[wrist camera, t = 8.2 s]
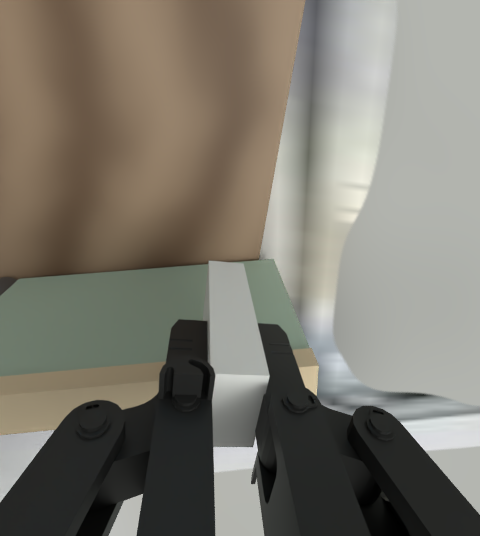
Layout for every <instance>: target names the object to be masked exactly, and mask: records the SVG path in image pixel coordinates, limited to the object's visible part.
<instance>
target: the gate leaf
mask: <svg viewBox="0 0 480 536" xmlns="http://www.w3.org/2000/svg"><path fill="white" fill-rule="evenodd" d="M231 263H243V264H244V267H245V272H246V276H247V280H248V285H249V289H250V293H251V298H252V302H253V306H254V310H255V315H256V319H257V323H264V324H278V325H279V326H280V327H281V328H282V329H283V330H284V331H285V332H286V333H287V336H288V339H289V342H290V346H291V348H292V350H293V355H294V356H295V359H296V362H297V365H298V368H299V371H300V373H301V376H302V379H303V382H304V385H305V387H306V388H307V389H309V390H310V391H311V392H313V393H314V394H315V395H317V382H318V369H319V365H318V363H317V360H316V358H315V355H314V353H313V351H312V348H309V345H308V343H307V340H306V338H305V335H304V333H303V330H302V328H301V326H300V323H299V321H298V318H297V316H296V313H295V311H294V308H293V306H292V303H291V301H290V299H289V296H288V294H287V291H286V289H285V286H284V284H283V281H282V279H281V276H280V274H279V271H278V269H277V267H276V264H275V262H274V259H268V260H255V261H242V262H231ZM207 272H208V264H203V265H190V266H177V267H164V268H152V269H139V270H126V271H113V272H100V273H87V274H74V275H61V276H48V277H35V278H23V279H18V280H17V279H14V278H11V277H2V278H0V435H7V434H17V433H27V432H37V431H47V430H56V428H57V427H58V426H59V425H60V423H61V422H62V421H63V419H64V418H65V417H66V416H67V415H68V414H69V413H70V412H71V411H72V410H73V409H74V408H76V407H78V406H80V405H82V404H84V403H86V402H90V401H94V400H108V401H111V402H113V403H115V404H118V406H119V407H120V408H121V409H122V410H123V409H127V408H131V407H135V406H138V405H141V404H144V403H146V402H148V401H149V400H151V399H152V398H153V397H154V396H156V395H157V393H158V392H159V373H160V371H161V369H162V367H163V365H165V364H166V358H167V351H168V345H169V339H170V332H171V328H172V326H173V325H174V324H175V323H176V322H177V321H178V319H184V320H200V321H203V309H204V300H205V291H206V281H207Z"/></svg>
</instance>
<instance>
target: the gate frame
mask: <svg viewBox="0 0 480 536" xmlns="http://www.w3.org/2000/svg"><path fill="white" fill-rule="evenodd" d="M304 5H305V0H0V278H2V277H11V278H14V279H17V280H18V279H23V278H35V277H48V276H61V275H74V274H87V273H100V272H113V271H126V270H139V269H152V268H164V267H177V266H190V265H203V264H208V263H209V261H220V262H242V261H255V260H259V255H260V249H261V244H262V238H263V232H264V227H265V221H266V216H267V210H268V205H269V199H270V194H271V188H272V183H273V177H274V171H275V166H276V160H277V155H278V149H279V144H280V138H281V133H282V127H283V122H284V116H285V110H286V105H287V99H288V94H289V88H290V83H291V77H292V72H293V66H294V61H295V55H296V49H297V44H298V38H299V33H300V27H301V22H302V16H303V11H304Z"/></svg>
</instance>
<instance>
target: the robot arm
mask: <svg viewBox="0 0 480 536" xmlns="http://www.w3.org/2000/svg"><path fill="white" fill-rule="evenodd" d="M255 436H256V440H257V447H258V452H257V456H256V460H255V464H254V468H253V472H252V480H251V484H255V482H256V478H257V482H258V489H259V497H260V505H261V512H262V520H263V528H264V535H265V536H480V515H479V514H478V512H477V511H476V510H475V509H474V508H473V507H472V505H471V504H470V503H469V502H468V501H467V500H466V498H465V497H464V496H463V495H462V494H461V493H460V491H459V490H458V489H457V488H456V487H455V486H454V484H453V483H452V482H451V481H450V480H449V479H448V477H447V476H446V475H445V474H444V473H443V472H442V471H441V469H440V468H439V467H438V466H437V465H436V464H435V462H434V461H433V460H432V459H431V458H430V457H429V455H428V454H427V453H426V452H425V451H424V450H423V448H422V447H421V446H420V445H419V444H418V443H417V441H416V440H415V439H414V438H413V437H412V436H411V434H410V433H409V432H408V431H407V430H406V429H405V427H404V426H403V425H402V424H401V423H400V422H399V421H398V420H397V419H396V418H395V417H394V416H393V415H392V414H390V413H388V412H386V411H385V410H383V409H380V408H377V407H374V406H362V407H360V408H358V409H356V411H355V412H354V414H353V416H351V415H348V414H345V413H341V412H338V411H335V410H332V409H329V408H327V407H325V406H323V405H321V403H320V401H319V400H318V398H317V396H316V395H315V394H314V393H313V392H311V391H310V390H309V389H307V388H306V387H305V385H304V382H303V379H302V376H301V373H300V371H299V368H298V365H297V362H296V359H295V356H294V355H293V350H292V348H291V346H290V342H289V339H288V336H287V333H286V332H285V331H284V330H283V329H282V328H281V327H280V326H279V325H278V324H264V323H257V319H256V315H255V310H254V306H253V302H252V298H251V293H250V289H249V285H248V280H247V276H246V272H245V267H244V264H243V263H231V262H220V261H209V263H208V272H207V281H206V291H205V300H204V309H203V321H200V320H184V319H178V321H177V322H176V323H175V324H174V325H173V326H172V328H171V332H170V339H169V345H168V351H167V358H166V364H165V365H163V367H162V369H161V371H160V373H159V392H158V393H157V395H156V396H154V397H153V398H152V399H151V400H149V401H148V402H146V403H144V404H141V405H138V406H135V407H131V408H127V409H123V410H122V409H121V408H120V407H119V406H118V404H115V403H113V402H111V401H108V400H94V401H90V402H86V403H84V404H82V405H80V406H78V407H76V408H74V409H73V410H72V411H71V412H70V413H69V414H68V415H67V416H66V417H65V418H64V419H63V421H62V422H61V423H60V425H59V426H58V427H57V428H56V430H55V431H54V432H53V434H52V435H51V436H50V438H49V439H48V440H47V442H46V443H45V444H44V446H43V447H42V448H41V450H40V451H39V452H38V454H37V455H36V456H35V458H34V459H33V460H32V462H31V463H30V464H29V465H28V467H27V468H26V469H25V471H24V472H23V473H22V475H21V476H20V477H19V479H18V480H17V481H16V483H15V484H14V485H13V487H12V488H11V489H10V491H9V492H8V493H7V495H6V496H5V497H4V498H3V500H2V501H1V502H0V536H108V535H109V533H110V531H111V528H112V526H113V524H114V522H115V519H116V517H117V515H118V513H119V510H120V508H121V506H122V503H123V501H124V500H127V499H129V498H132V497H135V496H138V495H140V494H143V498H142V505H141V511H140V517H139V524H138V530H137V536H215V507H214V462H213V447H253V445H254V440H255Z"/></svg>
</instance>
